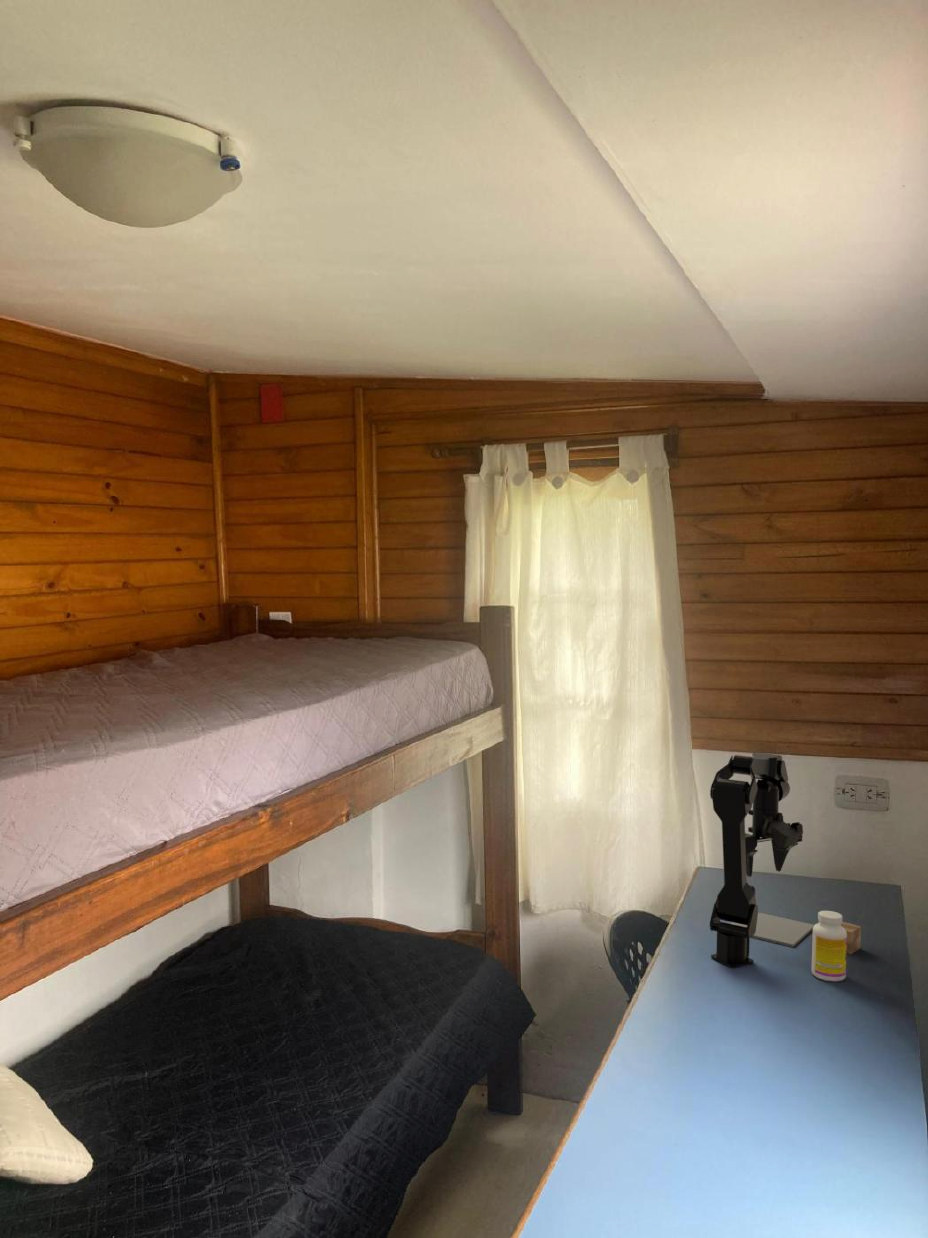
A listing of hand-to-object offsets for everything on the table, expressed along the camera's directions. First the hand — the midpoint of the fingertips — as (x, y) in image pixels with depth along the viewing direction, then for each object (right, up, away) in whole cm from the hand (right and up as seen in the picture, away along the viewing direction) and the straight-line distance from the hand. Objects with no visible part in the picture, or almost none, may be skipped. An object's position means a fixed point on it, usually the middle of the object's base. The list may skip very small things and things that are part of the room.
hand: (763, 873), depth 220 cm
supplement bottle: (+5, -14, -25) cm, 30 cm away
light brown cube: (+15, -14, -10) cm, 23 cm away
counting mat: (+2, -13, +1) cm, 13 cm away
